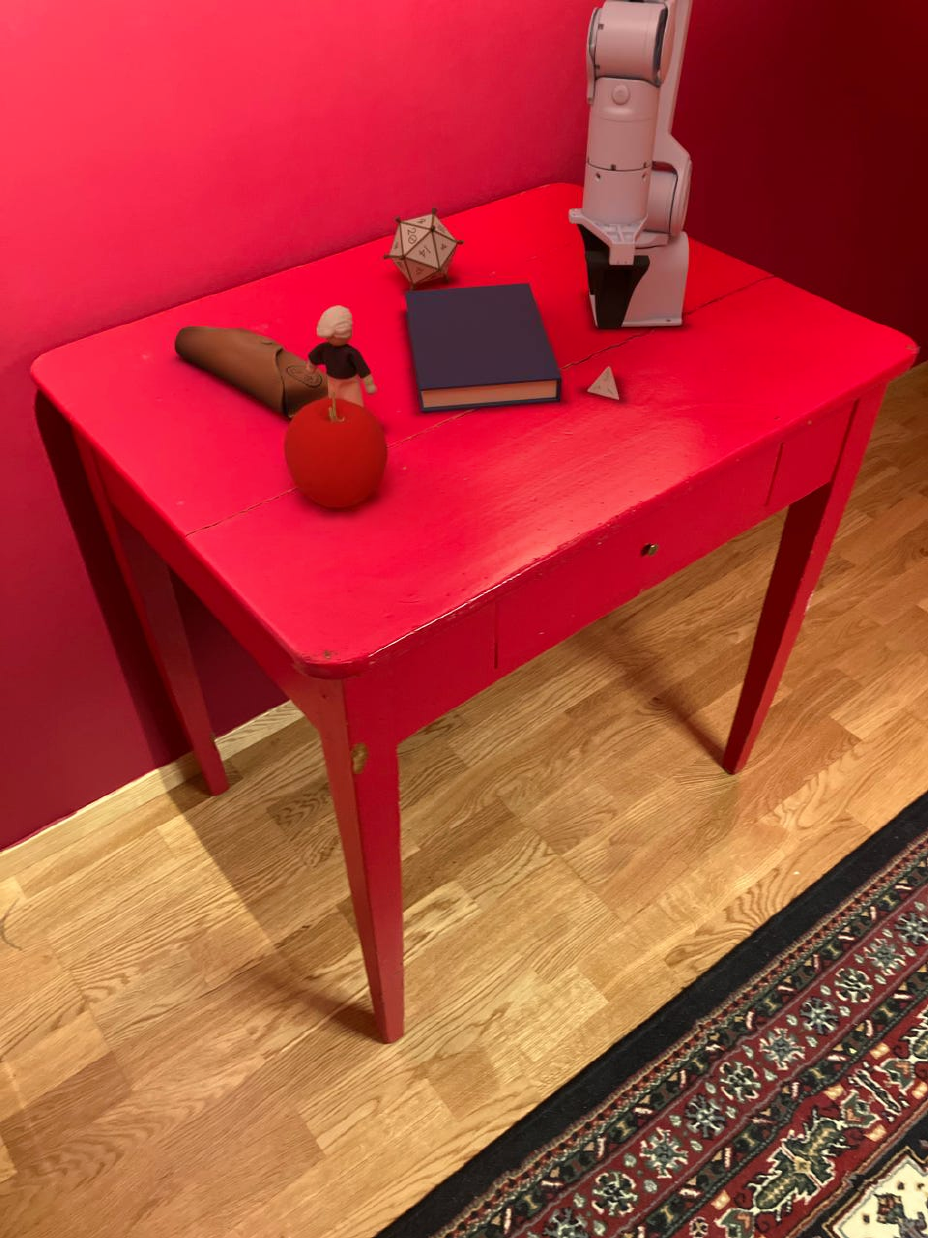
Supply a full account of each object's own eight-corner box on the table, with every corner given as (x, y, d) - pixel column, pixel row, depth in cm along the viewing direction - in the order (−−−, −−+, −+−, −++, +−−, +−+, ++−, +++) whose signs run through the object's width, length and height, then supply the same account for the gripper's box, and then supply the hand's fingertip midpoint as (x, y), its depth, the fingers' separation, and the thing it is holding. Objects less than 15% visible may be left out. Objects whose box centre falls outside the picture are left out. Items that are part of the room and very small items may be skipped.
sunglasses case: (348, 383, 104) (316, 346, 98) (308, 439, 104) (273, 404, 98) (237, 326, 113) (202, 289, 107) (199, 377, 112) (162, 342, 107)
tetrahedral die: (627, 395, 104) (634, 366, 103) (618, 400, 102) (625, 370, 101) (596, 386, 106) (602, 358, 104) (586, 391, 103) (592, 362, 102)
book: (528, 305, 116) (529, 282, 114) (560, 401, 102) (561, 377, 100) (405, 314, 115) (404, 291, 113) (421, 412, 101) (419, 388, 99)
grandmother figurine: (392, 423, 100) (382, 303, 91) (377, 445, 97) (365, 324, 88) (320, 410, 102) (304, 291, 93) (304, 431, 99) (285, 311, 90)
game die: (439, 315, 122) (462, 272, 113) (370, 292, 121) (388, 246, 111) (453, 251, 125) (477, 204, 115) (387, 227, 123) (405, 177, 113)
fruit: (412, 490, 92) (405, 395, 85) (334, 537, 88) (321, 440, 81) (346, 449, 97) (335, 355, 90) (269, 491, 93) (251, 396, 86)
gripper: (566, 135, 94) (557, 279, 103) (580, 188, 83) (568, 344, 92) (642, 136, 94) (626, 279, 103) (667, 188, 83) (647, 344, 92)
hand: (604, 310), depth 98 cm, fingers open, 7 cm apart
